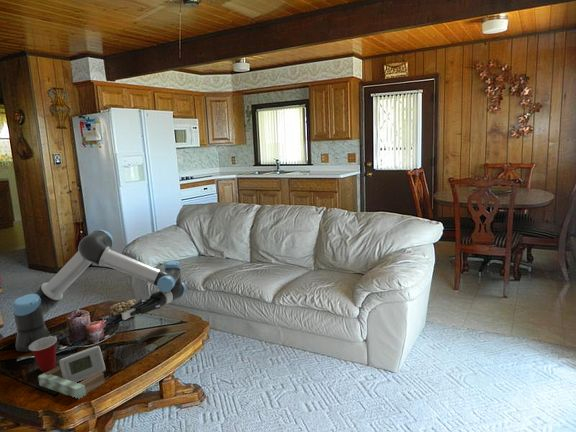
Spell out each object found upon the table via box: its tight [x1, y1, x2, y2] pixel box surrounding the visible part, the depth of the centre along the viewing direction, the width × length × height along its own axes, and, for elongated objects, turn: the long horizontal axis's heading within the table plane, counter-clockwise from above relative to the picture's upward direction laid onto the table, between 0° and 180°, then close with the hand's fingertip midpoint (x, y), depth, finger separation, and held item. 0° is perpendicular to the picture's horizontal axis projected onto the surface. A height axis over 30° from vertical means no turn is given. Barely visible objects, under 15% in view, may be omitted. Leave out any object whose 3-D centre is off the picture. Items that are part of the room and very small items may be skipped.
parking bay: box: [37, 364, 106, 400], centre depth 175 cm, size 24×12×4 cm, turn 62°
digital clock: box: [58, 345, 107, 383], centre depth 179 cm, size 16×9×11 cm, turn 122°
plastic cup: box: [29, 335, 58, 372], centre depth 188 cm, size 11×11×12 cm
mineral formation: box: [109, 298, 137, 318], centre depth 242 cm, size 8×13×15 cm
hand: (123, 316), depth 197 cm, fingers closed
